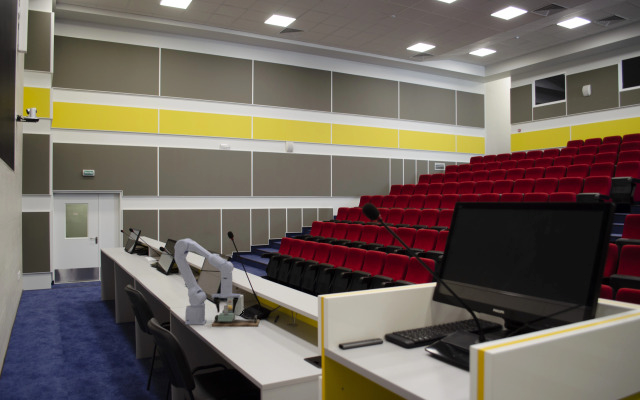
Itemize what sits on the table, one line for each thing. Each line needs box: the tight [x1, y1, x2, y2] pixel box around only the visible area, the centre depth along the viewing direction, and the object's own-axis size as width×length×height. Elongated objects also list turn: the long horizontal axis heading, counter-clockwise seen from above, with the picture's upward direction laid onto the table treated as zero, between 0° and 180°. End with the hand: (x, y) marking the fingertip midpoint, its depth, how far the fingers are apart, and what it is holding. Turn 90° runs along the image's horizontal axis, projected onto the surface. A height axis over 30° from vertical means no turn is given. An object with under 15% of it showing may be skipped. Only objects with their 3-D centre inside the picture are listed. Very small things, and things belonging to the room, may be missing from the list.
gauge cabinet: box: [221, 309, 236, 319], centre depth 243 cm, size 6×6×5 cm
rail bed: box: [211, 314, 260, 328], centre depth 234 cm, size 23×10×4 cm, turn 93°
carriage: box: [218, 304, 234, 321], centre depth 234 cm, size 7×7×7 cm
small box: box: [226, 294, 245, 317], centre depth 254 cm, size 8×6×10 cm
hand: (226, 312), depth 234 cm, fingers open, 7 cm apart
